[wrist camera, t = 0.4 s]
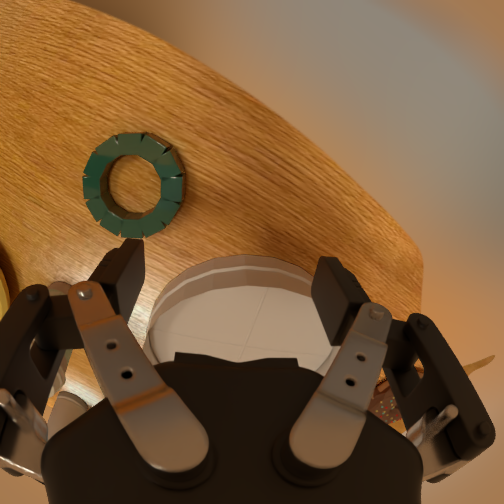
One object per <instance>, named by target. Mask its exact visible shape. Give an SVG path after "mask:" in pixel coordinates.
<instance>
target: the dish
mask: <svg viewBox="0 0 504 504" xmlns="http://www.w3.org/2000/svg"><path fill="white" fill-rule="evenodd" d="M313 278H314V277H313V276H311V275H310V274H309V273H307V272H306V271H305V270H303V269H302V268H300V267H299V266H296V265H293V264H290V263H288V262H285V261H282V260H279V259H277V258H274V257H264V256H254V255H237V256H229V257H221V258H214V259H211V260H209V261H206V262H204V263H201V264H198V265H196V266H193V267H190V268H188V269H187V270H185V271H184V272H182V273H181V274H180V275H178V276H177V277H176V278H174V279H173V280H172V281H170V282H169V283H168V284H167V285H166V287H165V288H164V289H163V291H162V292H161V294H160V295H159V296H158V298H157V299H156V301H155V303H154V306H153V309H152V312H151V316H150V319H149V323H148V327H147V331H146V339H145V343H144V347H143V351H144V353H145V355H146V356H147V358H148V359H149V361H150V362H151V364H152V365H155V364H158V363H162V362H167V361H174V356H175V352H183V353H194V354H206V355H209V356H213V357H217V358H220V359H224V360H228V361H232V362H246V361H252V360H258V359H263V358H297V360H298V364H299V367H303V368H307V369H310V370H313V371H315V372H317V373H319V374H321V375H323V376H325V375H326V373H327V371H328V369H329V367H330V366H331V364H332V362H333V360H334V358H335V357H336V355H337V353H338V351H339V349H340V347H341V346H330V343H329V340H328V338H327V335H326V333H325V330H324V327H323V325H322V322H321V320H320V317H319V315H318V312H317V310H316V307H315V305H314V302H313V300H312V297H311V285H312V281H313Z"/></svg>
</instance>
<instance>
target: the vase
mask: <svg viewBox="0 0 504 504" xmlns="http://www.w3.org/2000/svg"><path fill="white" fill-rule="evenodd" d="M9 307H10V297H9V291H8V287H7V284H6V281H5V278H4V275H3V273H2V270H1V268H0V321H1V319H2V318H3V316H4V315H5V313H6V312H7V310H8V309H9Z"/></svg>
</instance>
